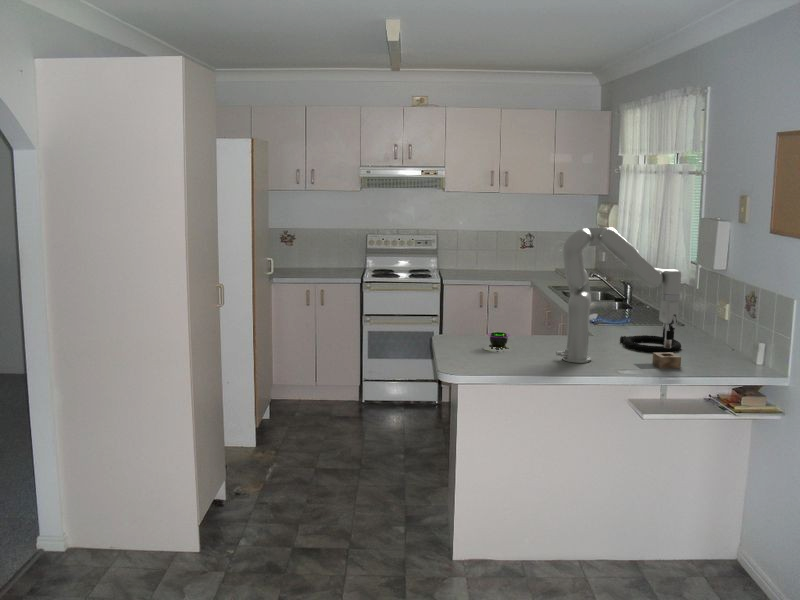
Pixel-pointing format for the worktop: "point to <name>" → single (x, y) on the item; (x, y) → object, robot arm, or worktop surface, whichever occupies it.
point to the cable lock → (631, 344)
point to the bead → (666, 360)
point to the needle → (666, 342)
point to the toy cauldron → (498, 340)
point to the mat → (648, 366)
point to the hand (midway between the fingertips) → (668, 338)
